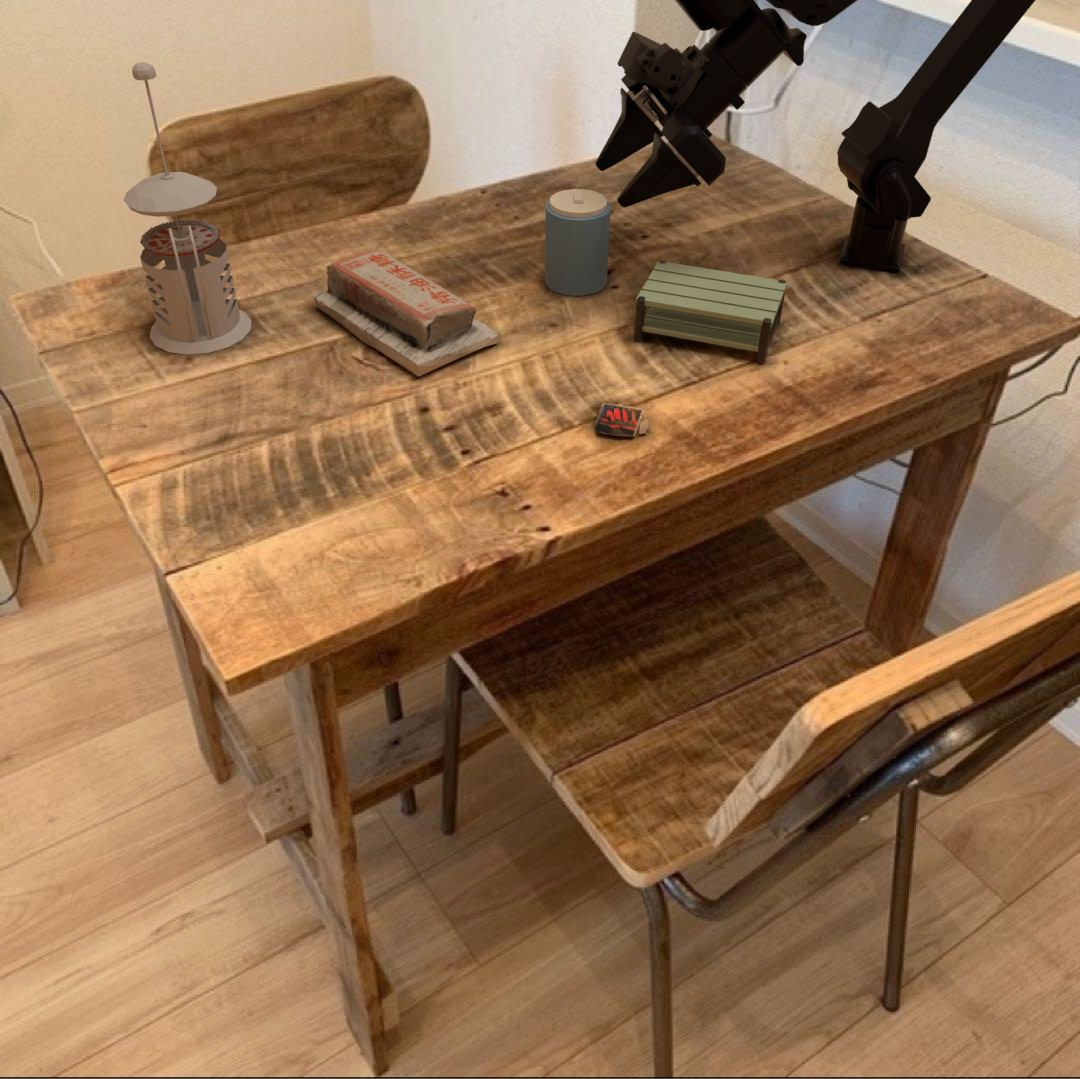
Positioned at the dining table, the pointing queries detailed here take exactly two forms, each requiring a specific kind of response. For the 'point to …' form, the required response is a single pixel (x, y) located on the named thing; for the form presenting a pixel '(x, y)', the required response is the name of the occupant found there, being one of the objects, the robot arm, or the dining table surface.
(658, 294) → the rack
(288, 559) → the dining table surface
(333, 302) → the packaged product
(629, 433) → the matchbox
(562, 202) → the tissue tub
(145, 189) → the french press
